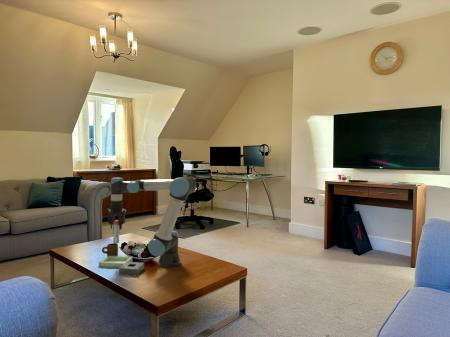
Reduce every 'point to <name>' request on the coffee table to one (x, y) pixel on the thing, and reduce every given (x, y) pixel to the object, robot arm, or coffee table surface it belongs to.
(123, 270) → the block
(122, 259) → the tray
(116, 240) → the pin
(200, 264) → the coffee table surface
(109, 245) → the mug
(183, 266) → the coffee table surface
